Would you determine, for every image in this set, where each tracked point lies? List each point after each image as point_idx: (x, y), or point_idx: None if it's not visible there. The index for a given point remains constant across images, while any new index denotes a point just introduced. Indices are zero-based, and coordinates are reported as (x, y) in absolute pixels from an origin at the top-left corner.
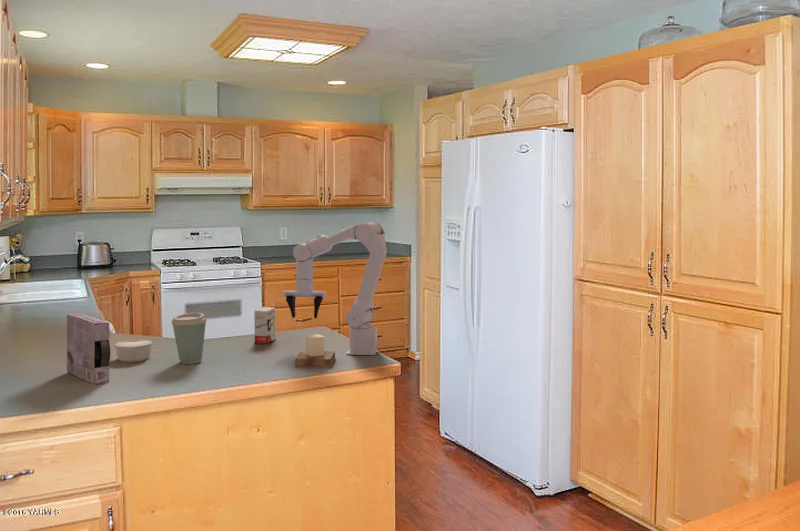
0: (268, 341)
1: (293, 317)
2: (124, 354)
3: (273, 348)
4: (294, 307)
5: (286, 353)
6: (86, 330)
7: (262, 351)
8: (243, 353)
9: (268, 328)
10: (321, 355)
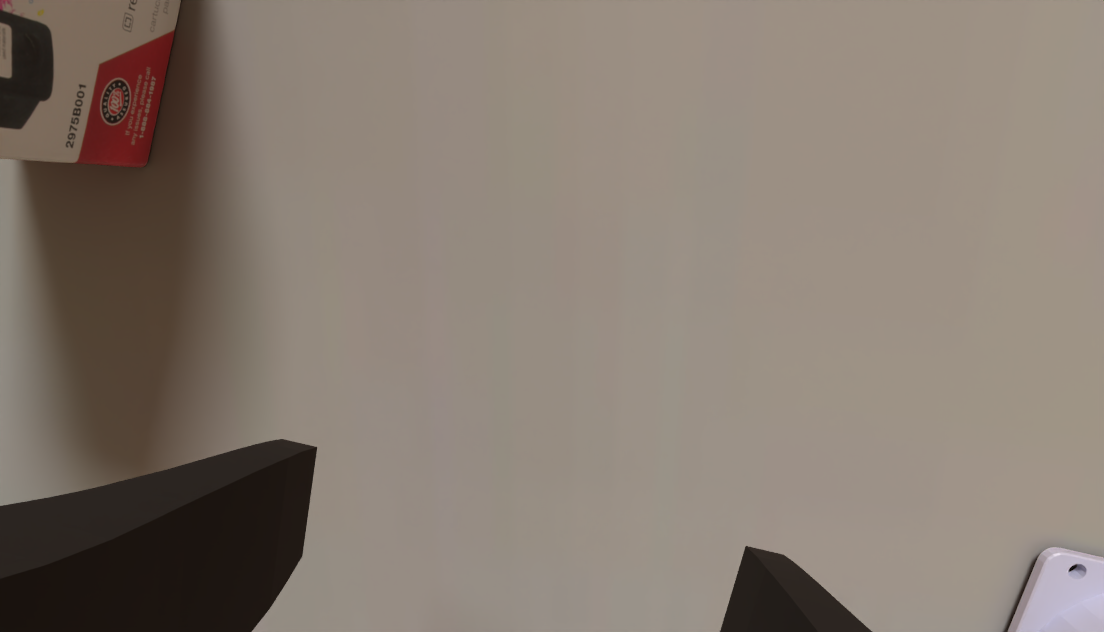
0: (145, 124)
1: (287, 561)
2: None
3: (246, 390)
4: (164, 584)
5: (388, 601)
6: None
7: None
8: None
9: (6, 99)
10: None
